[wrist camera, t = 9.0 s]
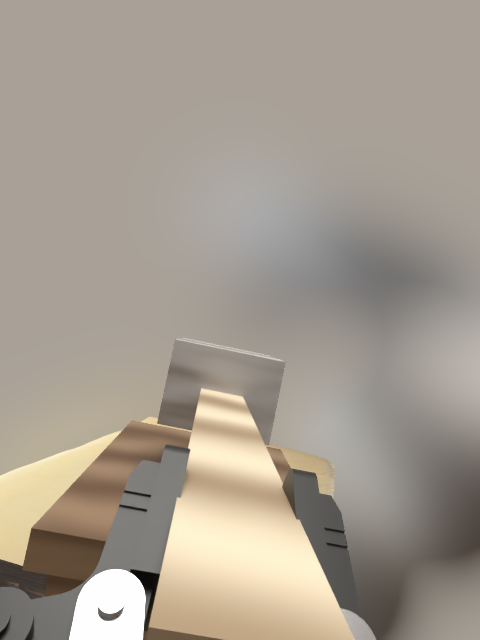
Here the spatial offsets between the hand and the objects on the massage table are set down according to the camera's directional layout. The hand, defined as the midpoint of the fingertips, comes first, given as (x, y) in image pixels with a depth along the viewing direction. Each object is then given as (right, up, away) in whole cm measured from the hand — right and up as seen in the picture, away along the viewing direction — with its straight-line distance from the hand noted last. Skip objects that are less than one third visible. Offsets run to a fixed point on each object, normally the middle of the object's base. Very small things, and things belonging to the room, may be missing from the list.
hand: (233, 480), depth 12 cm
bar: (-1, -3, +9) cm, 10 cm away
